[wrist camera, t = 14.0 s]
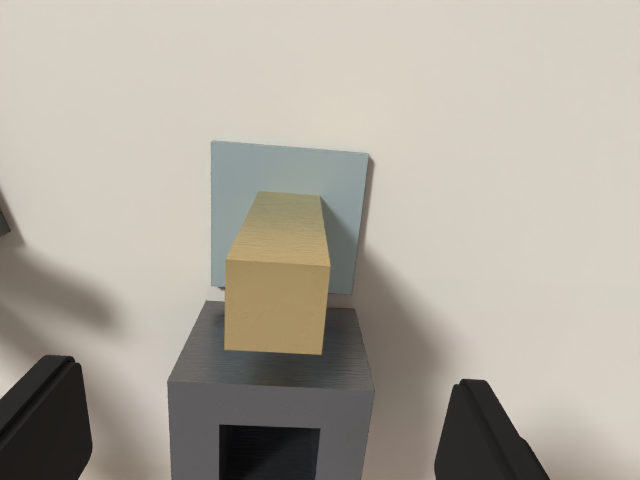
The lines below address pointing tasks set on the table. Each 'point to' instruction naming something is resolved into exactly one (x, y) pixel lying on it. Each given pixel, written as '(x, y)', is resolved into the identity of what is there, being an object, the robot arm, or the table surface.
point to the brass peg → (278, 277)
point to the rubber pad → (288, 177)
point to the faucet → (3, 225)
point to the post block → (270, 406)
